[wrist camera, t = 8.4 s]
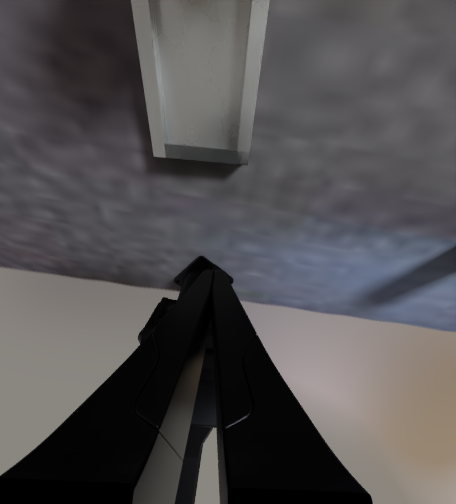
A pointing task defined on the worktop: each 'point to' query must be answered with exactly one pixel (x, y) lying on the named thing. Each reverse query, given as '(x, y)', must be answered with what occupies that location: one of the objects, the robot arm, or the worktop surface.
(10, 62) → the worktop surface
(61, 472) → the robot arm
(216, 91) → the fader track
